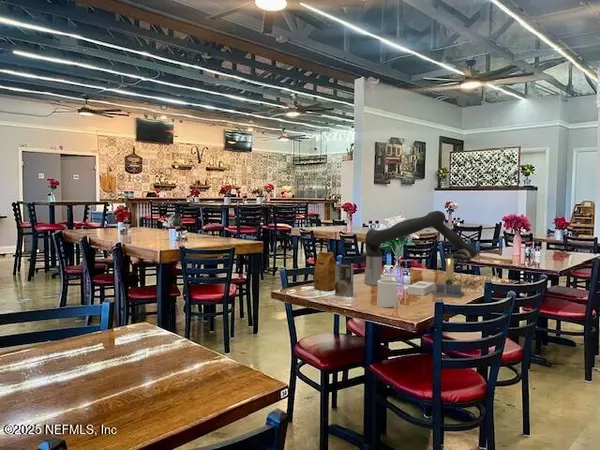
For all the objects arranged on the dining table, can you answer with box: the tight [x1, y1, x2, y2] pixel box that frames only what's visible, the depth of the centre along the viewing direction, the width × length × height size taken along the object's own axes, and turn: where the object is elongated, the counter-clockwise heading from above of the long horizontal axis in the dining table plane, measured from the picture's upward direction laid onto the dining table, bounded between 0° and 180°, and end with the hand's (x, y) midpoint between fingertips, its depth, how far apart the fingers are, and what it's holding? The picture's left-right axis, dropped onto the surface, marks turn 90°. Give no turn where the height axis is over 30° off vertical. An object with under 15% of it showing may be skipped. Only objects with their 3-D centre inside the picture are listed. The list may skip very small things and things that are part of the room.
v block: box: [431, 281, 465, 299], centre depth 252 cm, size 10×15×6 cm, turn 57°
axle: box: [444, 259, 455, 285], centre depth 254 cm, size 4×4×18 cm
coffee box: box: [334, 264, 354, 297], centre depth 248 cm, size 9×6×16 cm
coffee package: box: [313, 250, 338, 292], centre depth 262 cm, size 10×12×22 cm
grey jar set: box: [376, 274, 399, 308], centre depth 232 cm, size 25×10×12 cm, turn 167°
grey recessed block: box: [407, 280, 436, 296], centre depth 259 cm, size 20×9×4 cm, turn 147°
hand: (454, 258), depth 262 cm, fingers open, 8 cm apart
